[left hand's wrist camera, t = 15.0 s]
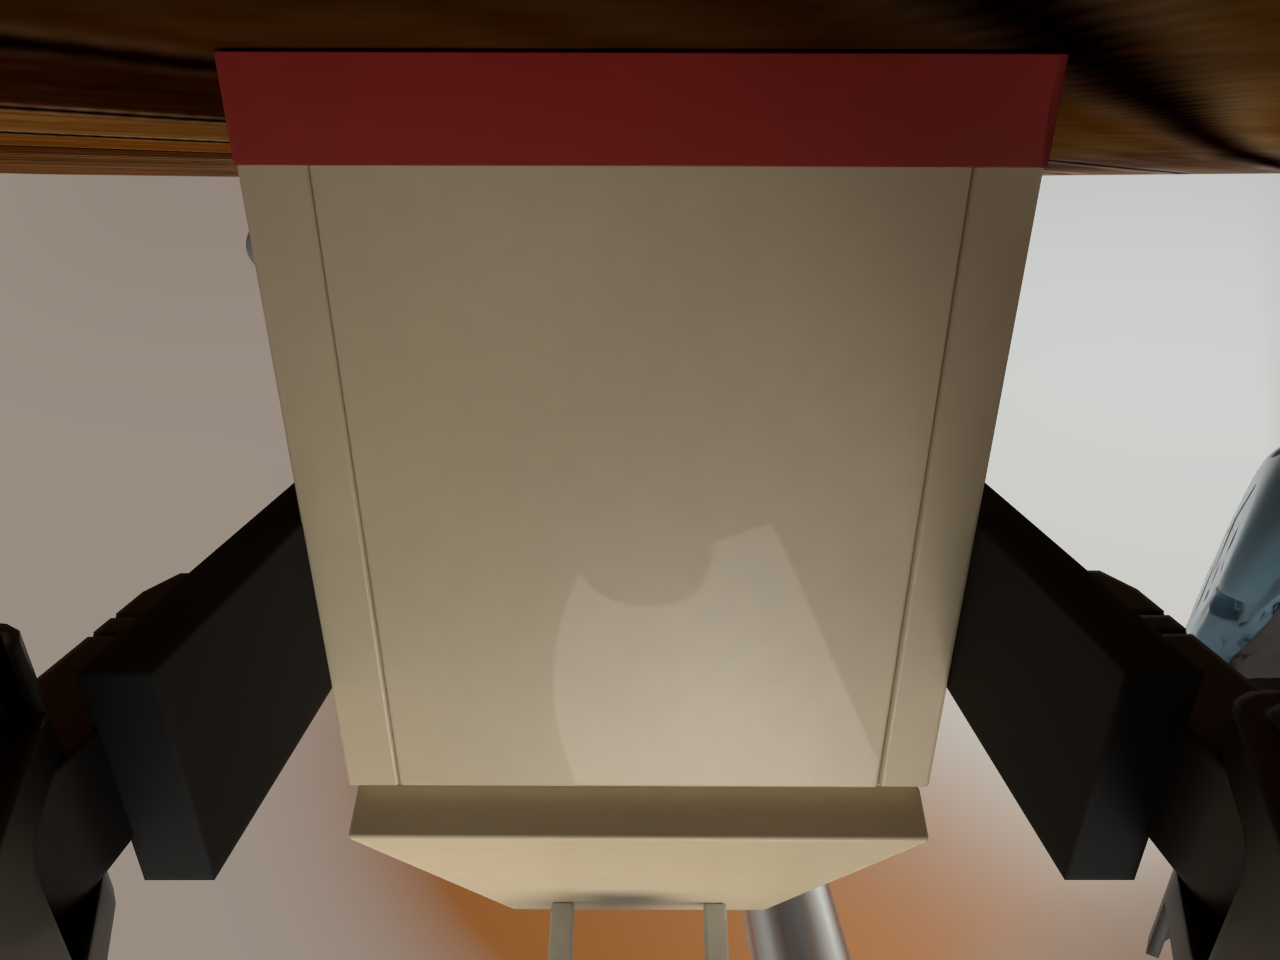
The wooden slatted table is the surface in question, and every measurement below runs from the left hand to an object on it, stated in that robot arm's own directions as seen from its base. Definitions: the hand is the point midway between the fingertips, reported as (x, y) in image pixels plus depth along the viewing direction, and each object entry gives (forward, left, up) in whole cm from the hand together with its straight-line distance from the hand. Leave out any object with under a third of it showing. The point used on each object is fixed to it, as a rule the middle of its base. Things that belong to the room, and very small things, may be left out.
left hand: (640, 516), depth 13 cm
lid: (-2, +2, +11) cm, 11 cm away
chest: (-4, +4, -7) cm, 9 cm away
